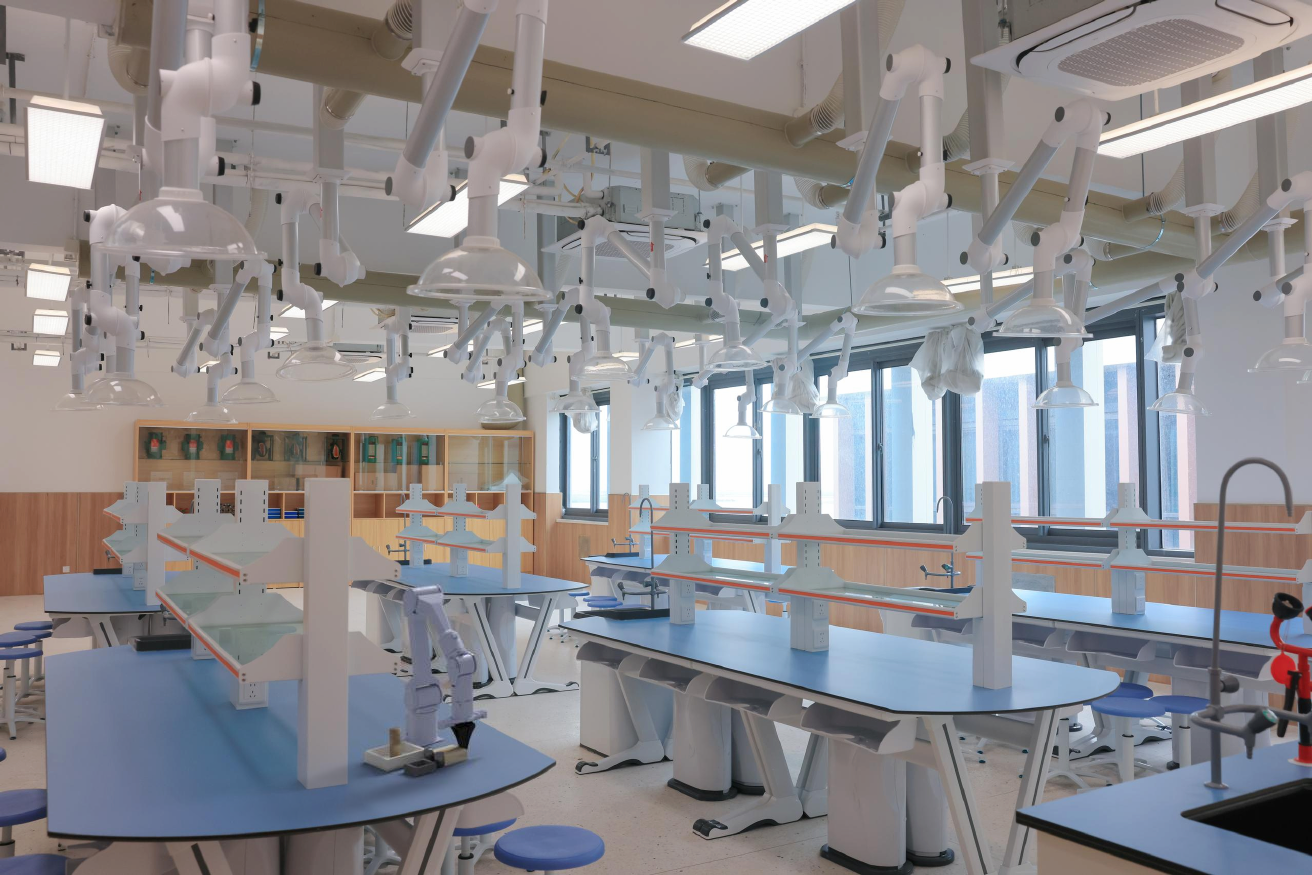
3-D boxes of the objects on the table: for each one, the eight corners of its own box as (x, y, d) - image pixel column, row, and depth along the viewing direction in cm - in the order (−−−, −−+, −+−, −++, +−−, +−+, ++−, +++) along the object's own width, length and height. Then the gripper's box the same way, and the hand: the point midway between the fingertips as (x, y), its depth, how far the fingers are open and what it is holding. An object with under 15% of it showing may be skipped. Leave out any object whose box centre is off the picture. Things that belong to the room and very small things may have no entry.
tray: (364, 762, 252) (364, 750, 252) (403, 751, 260) (403, 740, 260) (387, 771, 244) (387, 759, 244) (426, 760, 252) (426, 749, 252)
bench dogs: (422, 762, 250) (422, 749, 250) (430, 760, 252) (429, 746, 252) (437, 768, 245) (437, 754, 245) (445, 765, 247) (445, 752, 247)
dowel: (388, 761, 250) (387, 730, 250) (391, 757, 253) (390, 727, 253) (400, 760, 250) (399, 730, 250) (402, 757, 253) (402, 726, 253)
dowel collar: (404, 771, 243) (404, 763, 243) (424, 765, 248) (423, 758, 248) (416, 776, 239) (416, 768, 239) (436, 770, 243) (436, 762, 243)
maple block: (430, 761, 252) (429, 750, 252) (452, 755, 257) (452, 744, 257) (444, 767, 247) (444, 755, 247) (467, 760, 252) (467, 749, 252)
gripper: (447, 707, 247) (448, 760, 247) (493, 696, 258) (494, 746, 258) (432, 703, 252) (433, 754, 252) (478, 692, 263) (479, 741, 262)
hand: (463, 750), depth 255 cm, fingers closed
